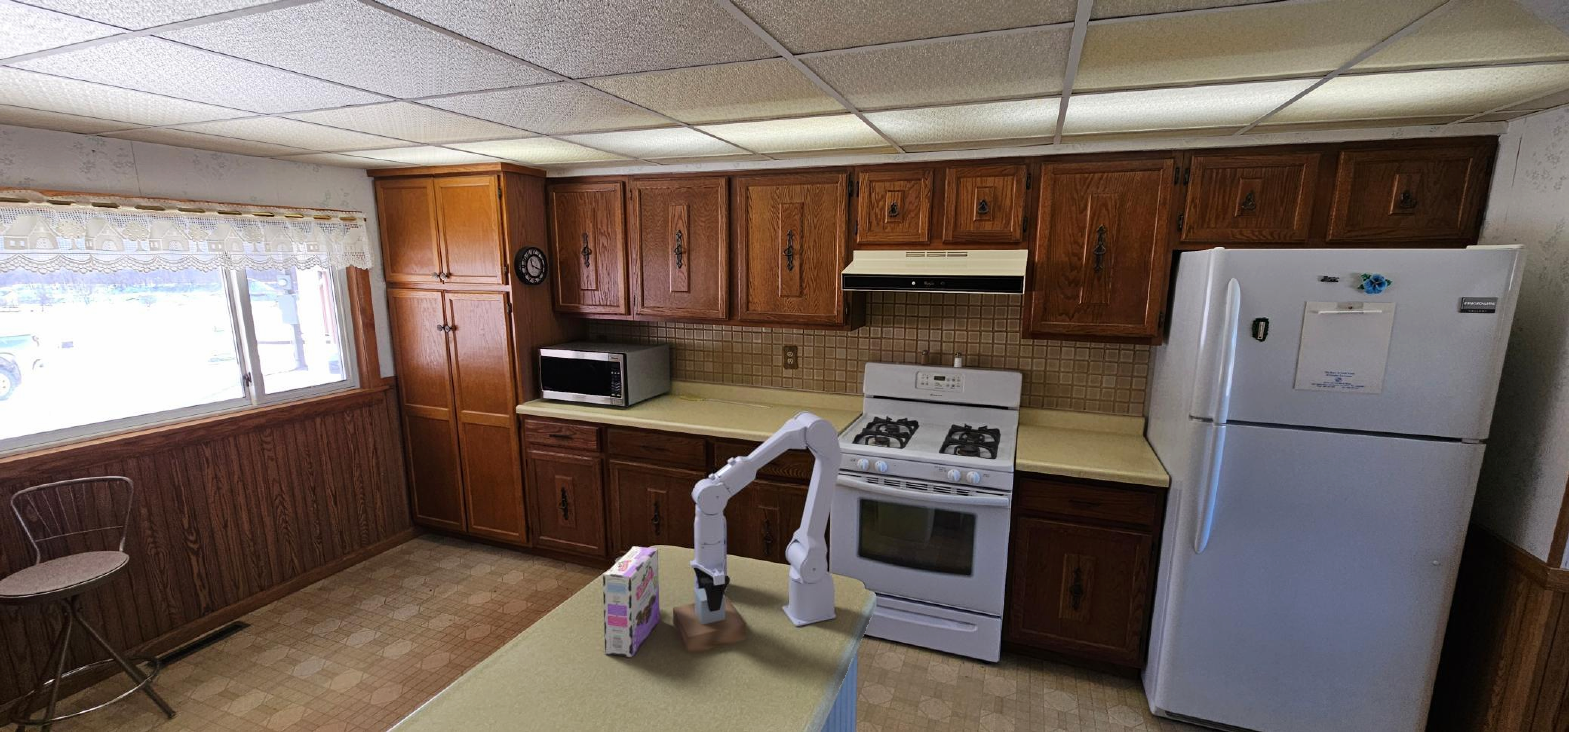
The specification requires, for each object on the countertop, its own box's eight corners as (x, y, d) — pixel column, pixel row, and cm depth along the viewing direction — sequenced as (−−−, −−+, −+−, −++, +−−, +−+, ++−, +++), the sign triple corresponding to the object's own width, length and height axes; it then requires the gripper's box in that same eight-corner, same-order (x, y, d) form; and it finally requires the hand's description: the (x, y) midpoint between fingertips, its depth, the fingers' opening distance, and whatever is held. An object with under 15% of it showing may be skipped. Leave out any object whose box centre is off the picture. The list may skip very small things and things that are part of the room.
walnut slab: (727, 613, 135) (726, 596, 135) (746, 641, 124) (746, 623, 124) (673, 625, 130) (672, 607, 130) (688, 656, 119) (688, 636, 119)
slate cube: (718, 607, 130) (717, 585, 129) (725, 619, 125) (725, 596, 124) (695, 612, 128) (694, 589, 127) (701, 624, 123) (701, 601, 123)
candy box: (632, 658, 118) (629, 576, 116) (603, 654, 119) (601, 573, 117) (660, 620, 131) (659, 546, 129) (635, 617, 132) (633, 544, 130)
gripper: (682, 528, 129) (683, 589, 131) (699, 556, 116) (700, 624, 118) (714, 524, 132) (715, 583, 134) (734, 550, 119) (735, 616, 121)
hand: (710, 602), depth 126 cm, fingers open, 6 cm apart
